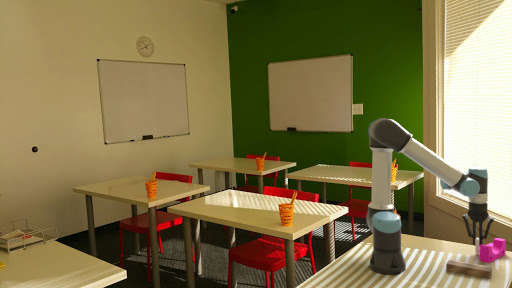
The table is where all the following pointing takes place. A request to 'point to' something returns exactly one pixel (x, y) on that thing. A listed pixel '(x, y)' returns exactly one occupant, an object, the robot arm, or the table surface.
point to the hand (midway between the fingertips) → (477, 252)
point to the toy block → (492, 250)
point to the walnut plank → (469, 269)
